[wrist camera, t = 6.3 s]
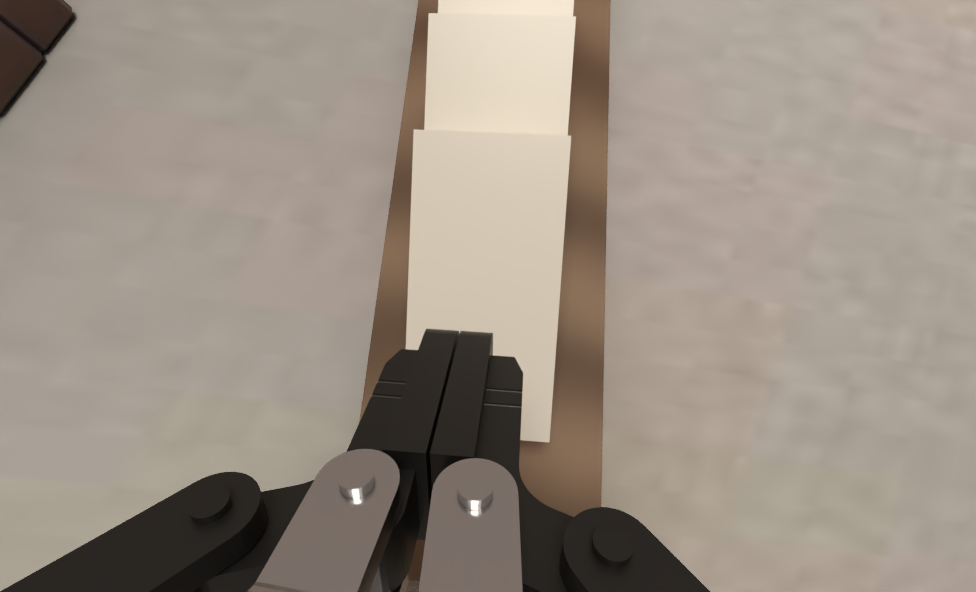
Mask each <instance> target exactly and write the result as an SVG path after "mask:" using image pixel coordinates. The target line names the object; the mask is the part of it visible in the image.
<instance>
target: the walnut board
mask: <svg viewBox="0 0 976 592" xmlns="http://www.w3.org/2000/svg"><path fill="white" fill-rule="evenodd" d="M429 13H438V0H419V1H418V8H417V15H416V22H415V30H414V37H413V44H412V51H411V58H410V65H409V72H408V80H407V87H406V94H405V101H404V108H403V115H402V122H401V130H400V137H399V144H398V151H397V158H396V165H395V172H394V180H393V187H392V194H391V201H390V208H389V215H388V222H387V230H386V237H385V244H384V251H383V258H382V265H381V272H380V280H379V287H378V294H377V301H376V308H375V315H374V322H373V330H372V337H371V344H370V351H369V358H368V365H367V372H366V380H365V387H364V394H363V401H362V408H361V415H360V420H361V418H362V416H363V414H364V411H365V409H366V407H367V404H368V402H369V400H370V398H371V397H372V393H373V391H374V388H375V386H376V384H377V383H378V379H379V377H380V375H381V372H382V370H383V368H384V366H385V363H386V362H387V361H388V360H389V359H391V358H392V357H393V356H394V355H395V354H396V353H397V352H398V351H400V350H401V349H406V325H407V298H408V270H409V242H410V215H411V187H412V160H413V132H414V129H416V130H424V122H425V95H426V69H427V42H428V16H429ZM573 16H576V24H575V38H574V52H573V66H572V81H571V95H570V109H569V123H568V136H571V147H570V161H569V175H568V189H567V203H566V217H565V231H564V245H563V259H562V273H561V287H560V301H559V315H558V329H557V343H556V357H555V371H554V385H553V399H552V413H551V427H550V441H549V443H548V442H536V441H524V440H520V455H519V471H520V476H521V479H522V481H523V483H524V485H525V486H526V488H527V489H528V491H529V492H530V493H531V494H532V495H533V496H534V497H535V498H536V499H538V500H539V501H540V502H542V503H543V504H545V505H547V506H549V507H551V508H553V509H555V510H558V511H560V512H563V513H565V514H568V515H570V516H573V517H575V516H576V515H577V514H579V513H580V512H582V511H584V510H587V509H591V508H597V507H601V482H602V427H603V373H604V318H605V263H606V209H607V154H608V99H609V45H610V0H574V10H573ZM359 423H360V422H359ZM424 547H425V540H418V539H417V541H416V545H415V550H414V554H413V558H412V563H411V566H410V579H412V580H420V576H421V569H422V562H423V554H424Z"/></svg>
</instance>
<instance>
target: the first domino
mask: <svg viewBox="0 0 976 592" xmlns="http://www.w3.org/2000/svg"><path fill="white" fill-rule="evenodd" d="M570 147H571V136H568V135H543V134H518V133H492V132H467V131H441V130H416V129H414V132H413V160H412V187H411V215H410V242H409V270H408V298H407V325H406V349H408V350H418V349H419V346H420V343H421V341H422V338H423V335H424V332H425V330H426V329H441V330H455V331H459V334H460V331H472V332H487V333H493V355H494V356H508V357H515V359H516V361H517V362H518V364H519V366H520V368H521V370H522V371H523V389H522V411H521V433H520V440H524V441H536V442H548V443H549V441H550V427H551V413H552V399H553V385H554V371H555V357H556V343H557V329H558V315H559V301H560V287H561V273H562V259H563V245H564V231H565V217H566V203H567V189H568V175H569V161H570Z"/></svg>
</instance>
